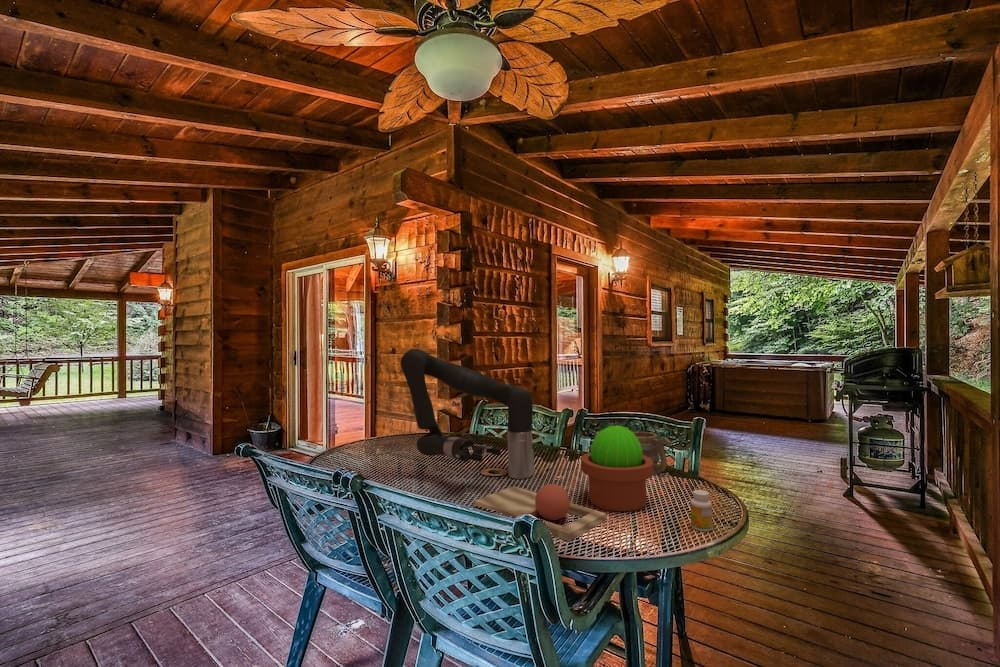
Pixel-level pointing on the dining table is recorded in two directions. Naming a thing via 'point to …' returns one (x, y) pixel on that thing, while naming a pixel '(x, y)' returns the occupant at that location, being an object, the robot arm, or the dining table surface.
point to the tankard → (653, 449)
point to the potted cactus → (617, 470)
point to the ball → (552, 502)
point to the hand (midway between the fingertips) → (491, 455)
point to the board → (524, 503)
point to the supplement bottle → (701, 511)
